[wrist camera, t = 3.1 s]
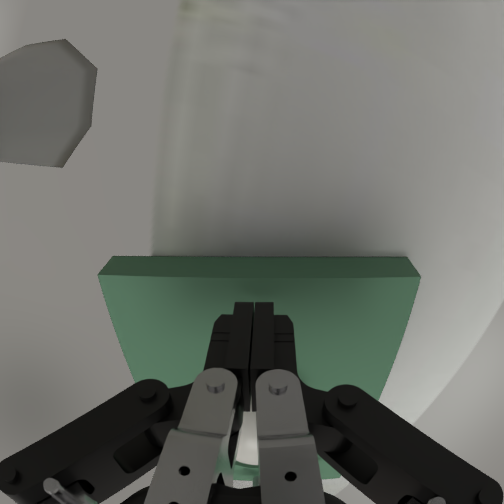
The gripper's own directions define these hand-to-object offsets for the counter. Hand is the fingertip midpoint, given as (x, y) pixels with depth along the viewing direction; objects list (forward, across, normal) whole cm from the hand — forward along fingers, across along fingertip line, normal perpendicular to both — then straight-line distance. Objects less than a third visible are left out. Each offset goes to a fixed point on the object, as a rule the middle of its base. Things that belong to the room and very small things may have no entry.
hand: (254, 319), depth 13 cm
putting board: (+5, 0, +12) cm, 12 cm away
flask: (+4, +11, -10) cm, 15 cm away
